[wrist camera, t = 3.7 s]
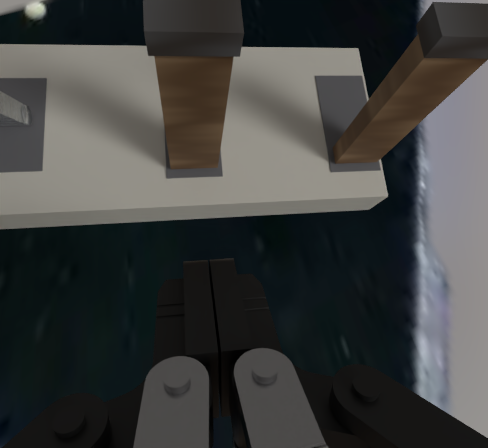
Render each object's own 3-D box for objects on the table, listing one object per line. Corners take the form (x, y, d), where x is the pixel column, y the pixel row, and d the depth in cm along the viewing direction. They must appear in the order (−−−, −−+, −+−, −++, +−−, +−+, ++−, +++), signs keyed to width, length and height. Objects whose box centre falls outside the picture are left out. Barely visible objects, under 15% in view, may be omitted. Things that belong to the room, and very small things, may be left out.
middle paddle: (167, 172, 24) (144, 31, 13) (166, 149, 25) (142, -7, 13) (221, 170, 25) (243, 33, 13) (219, 147, 25) (239, -4, 14)
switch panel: (-19, 230, 25) (-47, 216, 22) (-5, 73, 28) (-28, 42, 25) (368, 209, 29) (388, 195, 26) (343, 73, 32) (358, 47, 29)
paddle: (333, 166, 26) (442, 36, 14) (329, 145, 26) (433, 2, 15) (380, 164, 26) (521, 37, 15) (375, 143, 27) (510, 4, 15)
